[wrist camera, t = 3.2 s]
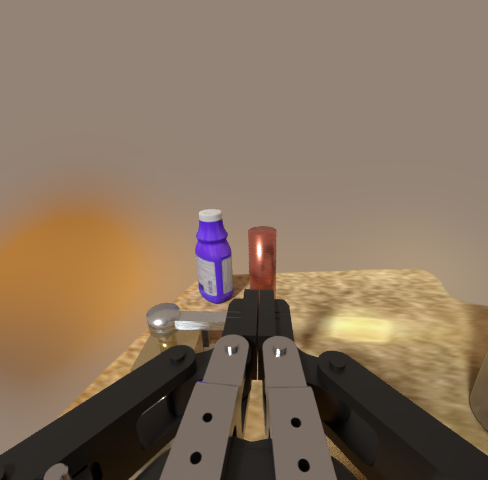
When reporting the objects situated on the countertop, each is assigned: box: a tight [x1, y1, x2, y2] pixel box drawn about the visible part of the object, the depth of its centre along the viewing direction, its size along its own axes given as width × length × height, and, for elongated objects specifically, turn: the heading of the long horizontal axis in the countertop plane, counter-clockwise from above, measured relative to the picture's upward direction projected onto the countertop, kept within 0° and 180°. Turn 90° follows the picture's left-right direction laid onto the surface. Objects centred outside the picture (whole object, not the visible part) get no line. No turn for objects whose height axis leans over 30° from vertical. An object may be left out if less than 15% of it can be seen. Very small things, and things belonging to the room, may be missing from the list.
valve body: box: [131, 329, 211, 471], centre depth 30 cm, size 16×6×10 cm, turn 176°
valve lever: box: [146, 226, 276, 338], centre depth 25 cm, size 3×13×10 cm, turn 86°
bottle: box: [195, 209, 233, 303], centre depth 51 cm, size 7×6×17 cm
